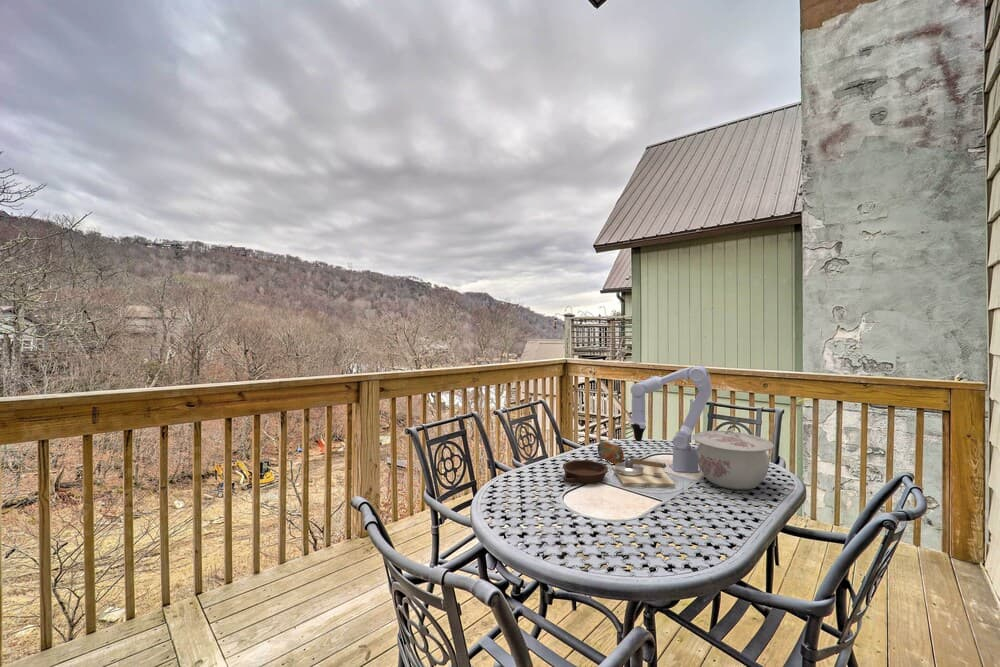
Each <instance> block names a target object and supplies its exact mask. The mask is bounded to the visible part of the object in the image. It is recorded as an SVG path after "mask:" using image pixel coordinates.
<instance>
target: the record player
mask: <svg viewBox="0 0 1000 667" xmlns="http://www.w3.org/2000/svg"><path fill="white" fill-rule="evenodd" d="M642 466H643V474H642V475H639V476H627V475H622V474H619V473H617V472H616V471H615V465H613V464H612V470H614V471H613V472H614V474H615V473H616V474H615V476H616V475H617V476H616V477H617V479H618V480H620V481H619V482H620V484H621V485H622V487H623V486H624V488H626V486H627V488H631V487H632V488H667V487H675V486H676V484H675V482H674V481H673V480H672V479H671V478H670V477H669V475H667V474H666V473H665V471H664V470H663V468H659V467H652V466H645V465H642ZM647 486H648V487H647ZM653 486H655V487H653Z"/></svg>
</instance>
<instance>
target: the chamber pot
mask: <svg viewBox="0 0 1000 667" xmlns="http://www.w3.org/2000/svg"><path fill="white" fill-rule="evenodd" d="M692 439H693V440H694V441H695V442H696V443H698V445H697V447H696V450H697V460H698V469H700V472H702V474H703V476H704V478H706V480H707V481H709V482H710V483H712V484H713V485H716V486H718V487H720V488H723V489H728V488H729V490H734V489H735V490H736V491H744V490H752V489H755V488H757V487H758V486H760V484H761V483H763V481H764V479H765V478H766V476H767V475H768V471H769V469H770V457H769V455H768V453H767V451H771V450H773V449H774V447H775V444H774V443H773V442H772V441H769V440H768V439H766V438H763V437H761V436H758V435H754V434H750V433H745V432H740V431H735V430H733V429H726V430H705V431H700V432H696V433H695V434H692Z"/></svg>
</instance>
